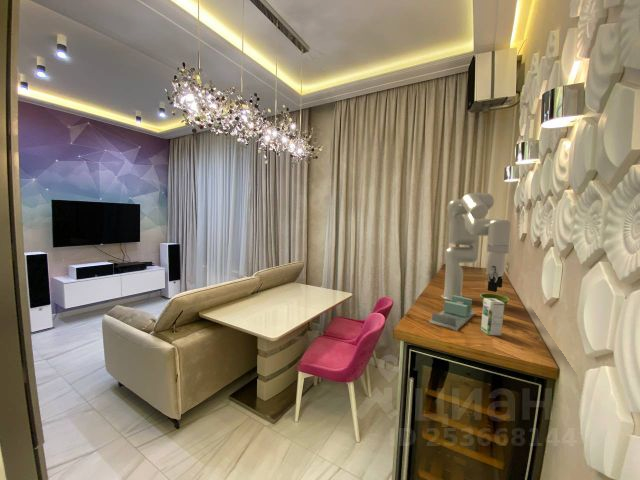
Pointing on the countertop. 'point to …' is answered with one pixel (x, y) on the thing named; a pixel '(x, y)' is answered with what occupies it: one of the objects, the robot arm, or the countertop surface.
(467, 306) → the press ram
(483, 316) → the syrup box
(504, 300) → the plant pot
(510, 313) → the countertop surface
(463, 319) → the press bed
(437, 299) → the countertop surface
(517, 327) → the countertop surface
